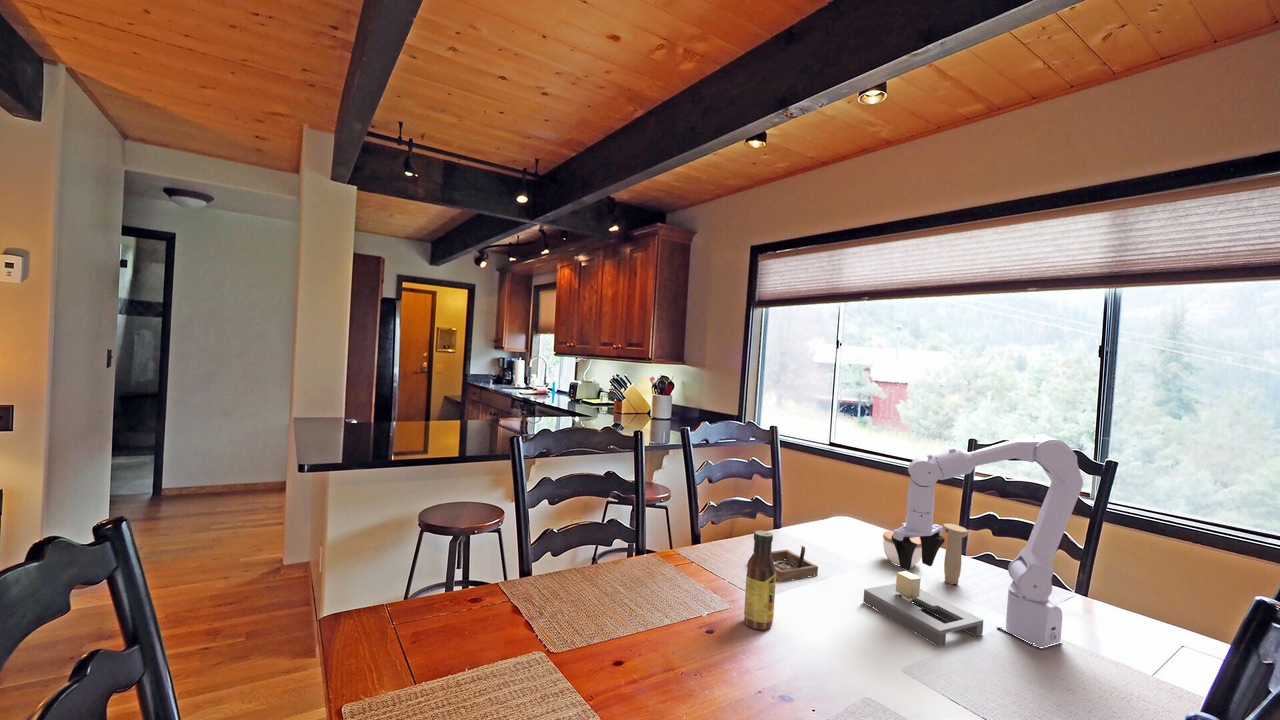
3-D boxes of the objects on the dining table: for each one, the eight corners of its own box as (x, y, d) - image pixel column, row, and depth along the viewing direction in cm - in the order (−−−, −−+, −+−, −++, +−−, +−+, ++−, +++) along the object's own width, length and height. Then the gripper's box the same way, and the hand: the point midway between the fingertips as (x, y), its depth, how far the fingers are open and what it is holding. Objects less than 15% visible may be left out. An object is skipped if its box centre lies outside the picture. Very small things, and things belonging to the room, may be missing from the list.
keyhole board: (982, 634, 120) (983, 620, 120) (938, 646, 114) (939, 630, 114) (904, 594, 138) (905, 581, 138) (863, 602, 133) (864, 589, 132)
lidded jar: (924, 562, 161) (926, 531, 161) (920, 574, 152) (922, 541, 151) (884, 553, 167) (886, 522, 166) (878, 564, 157) (881, 532, 157)
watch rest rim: (817, 575, 147) (818, 566, 147) (780, 581, 142) (780, 572, 142) (786, 558, 158) (787, 549, 158) (751, 563, 153) (751, 554, 153)
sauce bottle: (773, 633, 116) (779, 540, 115) (743, 629, 117) (749, 536, 116) (772, 618, 122) (778, 530, 122) (743, 614, 123) (749, 527, 123)
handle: (951, 577, 151) (955, 523, 150) (968, 588, 144) (972, 531, 144) (935, 577, 150) (939, 523, 150) (951, 588, 144) (955, 531, 143)
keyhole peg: (922, 614, 129) (925, 578, 128) (907, 617, 126) (910, 580, 126) (904, 604, 133) (907, 569, 133) (889, 607, 131) (892, 572, 131)
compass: (774, 563, 154) (776, 538, 154) (804, 569, 151) (805, 543, 151) (771, 574, 146) (773, 547, 146) (802, 580, 144) (804, 553, 143)
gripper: (925, 502, 136) (922, 556, 137) (884, 507, 130) (880, 563, 131) (952, 511, 130) (948, 567, 130) (909, 516, 124) (905, 575, 124)
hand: (916, 566), depth 130 cm, fingers open, 7 cm apart
